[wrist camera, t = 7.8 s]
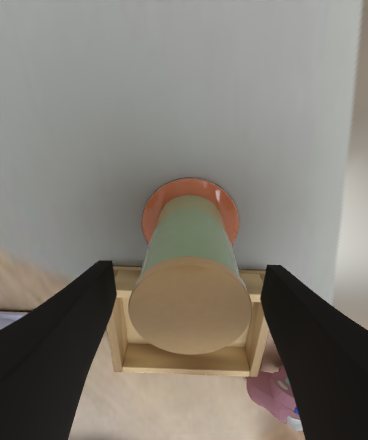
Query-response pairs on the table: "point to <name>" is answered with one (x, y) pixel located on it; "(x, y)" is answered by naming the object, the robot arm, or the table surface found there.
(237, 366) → the crate
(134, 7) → the table surface
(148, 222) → the coaster
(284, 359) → the robot arm
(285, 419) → the video game controller
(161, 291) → the spice jar
